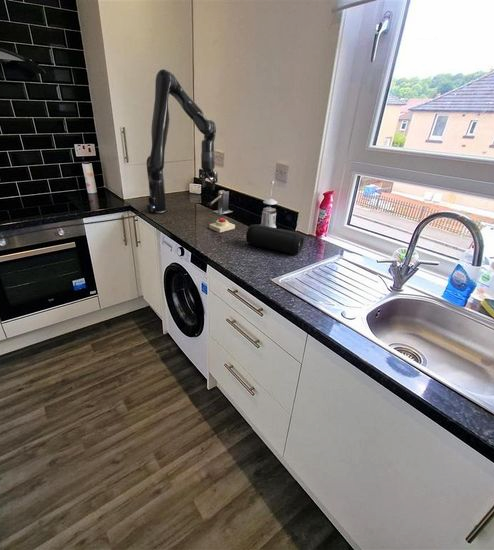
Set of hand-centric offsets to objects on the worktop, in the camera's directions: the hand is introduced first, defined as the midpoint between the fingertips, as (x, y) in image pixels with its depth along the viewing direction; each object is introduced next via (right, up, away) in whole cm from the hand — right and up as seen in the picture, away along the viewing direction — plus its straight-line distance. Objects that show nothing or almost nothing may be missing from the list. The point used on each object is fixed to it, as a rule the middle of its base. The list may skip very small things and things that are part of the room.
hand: (208, 188), depth 181 cm
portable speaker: (+33, -39, -35) cm, 61 cm away
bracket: (+9, -12, +13) cm, 20 cm away
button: (+8, -22, -14) cm, 27 cm away
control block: (+8, -25, -12) cm, 29 cm away
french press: (+34, -24, -7) cm, 42 cm away
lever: (+5, -6, +6) cm, 10 cm away
